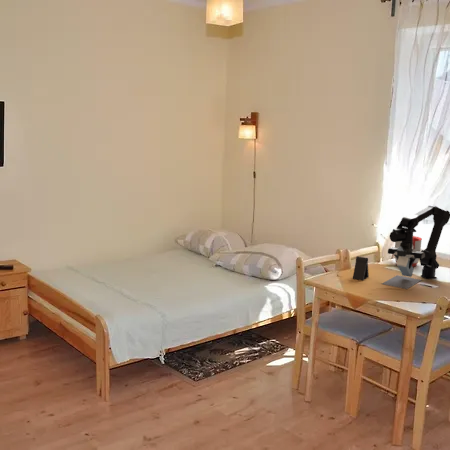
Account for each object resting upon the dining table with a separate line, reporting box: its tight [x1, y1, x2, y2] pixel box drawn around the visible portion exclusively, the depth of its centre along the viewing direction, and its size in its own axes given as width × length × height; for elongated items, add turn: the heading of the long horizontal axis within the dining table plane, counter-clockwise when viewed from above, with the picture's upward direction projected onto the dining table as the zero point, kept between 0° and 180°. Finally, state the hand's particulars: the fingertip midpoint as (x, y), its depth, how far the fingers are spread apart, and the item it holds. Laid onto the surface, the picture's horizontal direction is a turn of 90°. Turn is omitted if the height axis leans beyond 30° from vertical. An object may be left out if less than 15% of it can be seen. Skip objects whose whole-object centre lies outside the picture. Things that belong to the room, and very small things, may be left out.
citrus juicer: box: [394, 235, 422, 268], centre depth 334 cm, size 16×17×20 cm
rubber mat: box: [381, 274, 422, 290], centre depth 299 cm, size 22×14×1 cm, turn 141°
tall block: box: [396, 256, 414, 278], centre depth 300 cm, size 5×5×14 cm
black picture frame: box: [352, 256, 370, 281], centre depth 305 cm, size 9×6×12 cm, turn 145°
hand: (404, 268), depth 300 cm, fingers closed on tall block, 5 cm apart
